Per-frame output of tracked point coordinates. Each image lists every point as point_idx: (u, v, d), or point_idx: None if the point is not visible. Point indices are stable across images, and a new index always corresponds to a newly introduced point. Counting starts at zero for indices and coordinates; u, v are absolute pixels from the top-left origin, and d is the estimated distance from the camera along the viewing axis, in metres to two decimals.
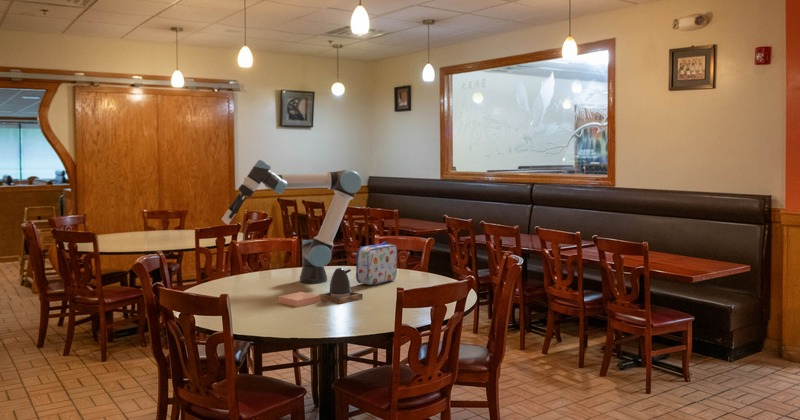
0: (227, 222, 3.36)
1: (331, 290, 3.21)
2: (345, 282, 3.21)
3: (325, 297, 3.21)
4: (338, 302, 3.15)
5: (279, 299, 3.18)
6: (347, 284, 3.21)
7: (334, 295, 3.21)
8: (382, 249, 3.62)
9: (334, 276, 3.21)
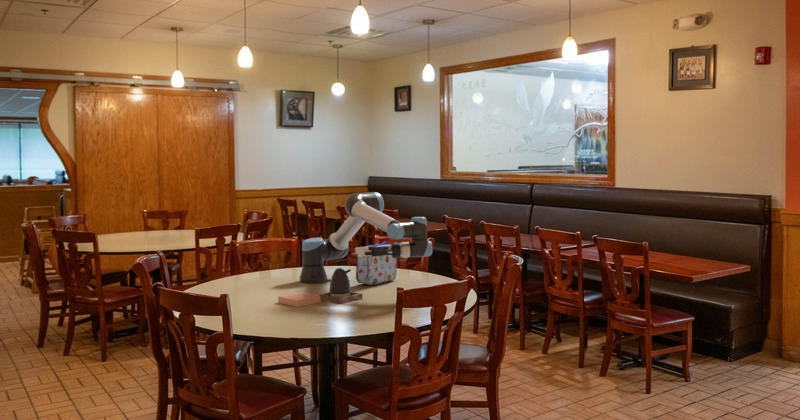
0: None
1: (331, 290, 3.21)
2: (345, 282, 3.21)
3: (325, 297, 3.21)
4: (338, 302, 3.15)
5: (279, 299, 3.18)
6: (347, 284, 3.21)
7: (334, 295, 3.21)
8: None
9: (334, 276, 3.21)
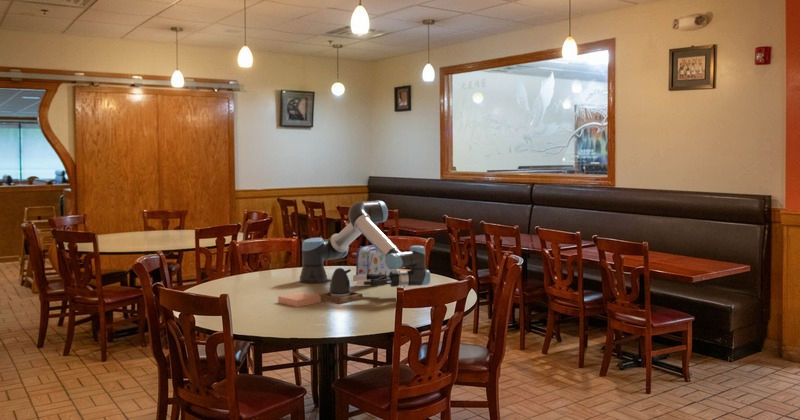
0: None
1: (331, 290, 3.21)
2: (345, 282, 3.21)
3: (325, 297, 3.21)
4: (338, 302, 3.15)
5: (279, 299, 3.18)
6: (347, 284, 3.21)
7: (334, 295, 3.21)
8: None
9: (334, 276, 3.21)
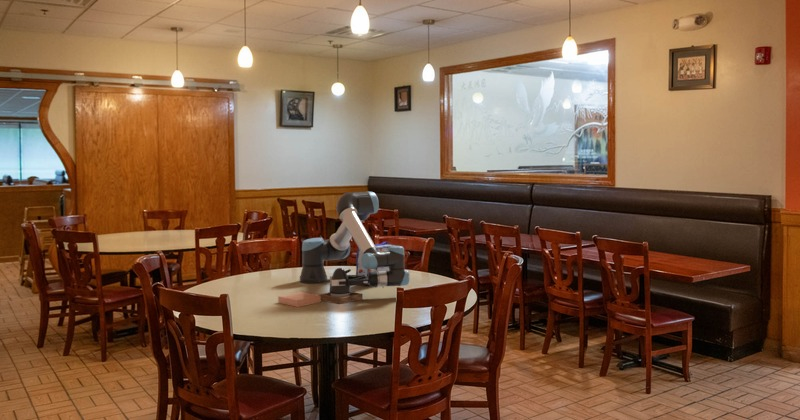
0: None
1: (331, 290, 3.21)
2: None
3: (325, 297, 3.21)
4: (338, 302, 3.15)
5: (279, 299, 3.18)
6: None
7: (334, 295, 3.20)
8: (382, 249, 3.62)
9: (334, 276, 3.21)
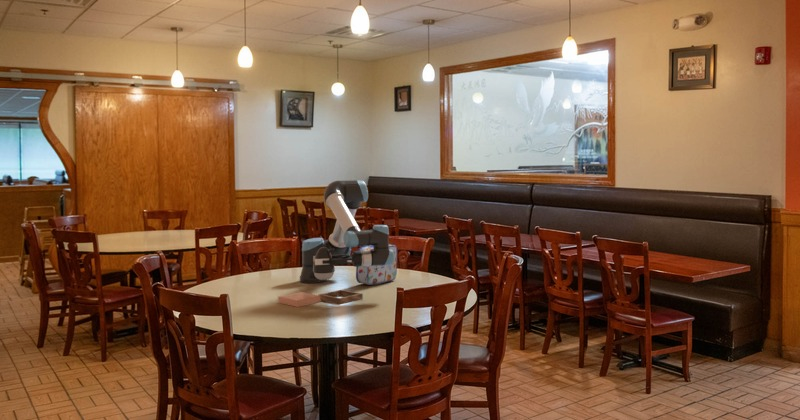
0: None
1: (315, 269, 3.16)
2: None
3: (325, 297, 3.21)
4: (338, 302, 3.15)
5: (279, 299, 3.18)
6: None
7: (318, 274, 3.16)
8: None
9: (318, 255, 3.17)
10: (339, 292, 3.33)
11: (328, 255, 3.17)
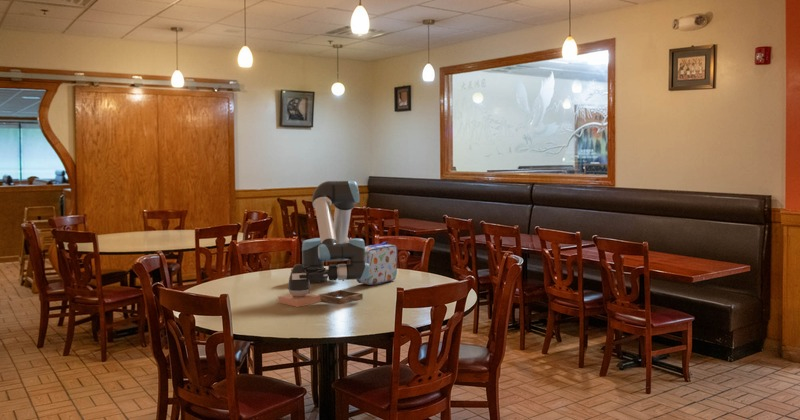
0: None
1: (289, 286, 3.15)
2: None
3: (325, 297, 3.21)
4: (338, 302, 3.15)
5: (279, 299, 3.18)
6: (306, 280, 3.16)
7: (292, 291, 3.15)
8: (382, 249, 3.62)
9: (293, 272, 3.15)
10: (339, 292, 3.33)
11: (303, 272, 3.15)
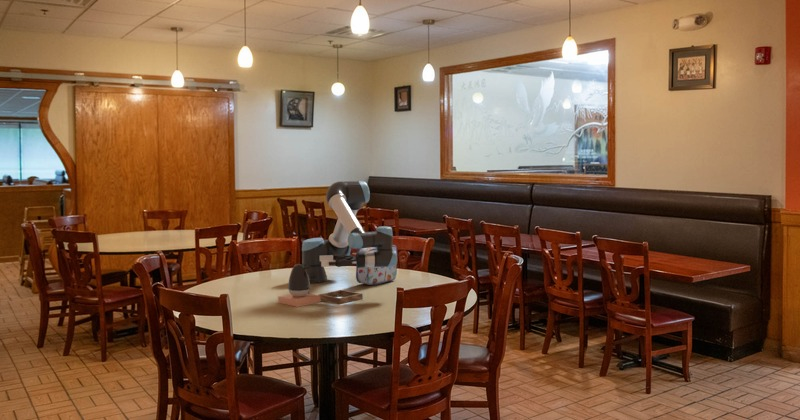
0: None
1: (289, 286, 3.15)
2: (304, 278, 3.15)
3: (325, 297, 3.21)
4: (338, 302, 3.15)
5: (279, 299, 3.18)
6: (306, 280, 3.15)
7: (292, 292, 3.15)
8: None
9: (293, 272, 3.15)
10: (339, 292, 3.33)
11: (303, 272, 3.15)
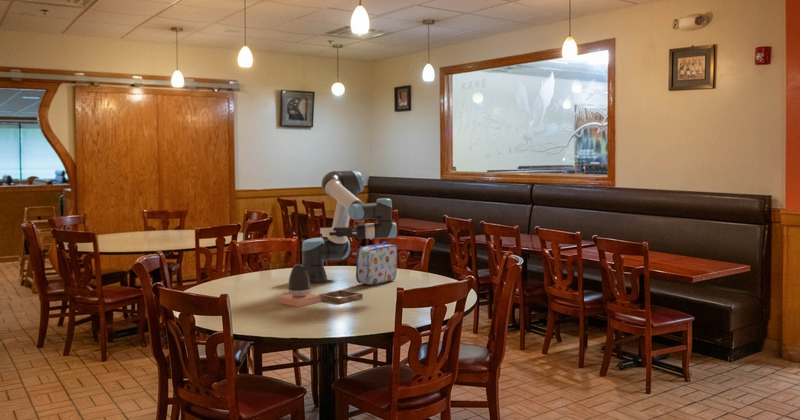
0: None
1: (289, 286, 3.15)
2: (304, 278, 3.15)
3: (325, 297, 3.21)
4: (338, 302, 3.15)
5: (279, 299, 3.18)
6: (306, 280, 3.15)
7: (292, 292, 3.15)
8: (382, 249, 3.62)
9: (293, 272, 3.15)
10: (339, 292, 3.33)
11: (303, 272, 3.15)
